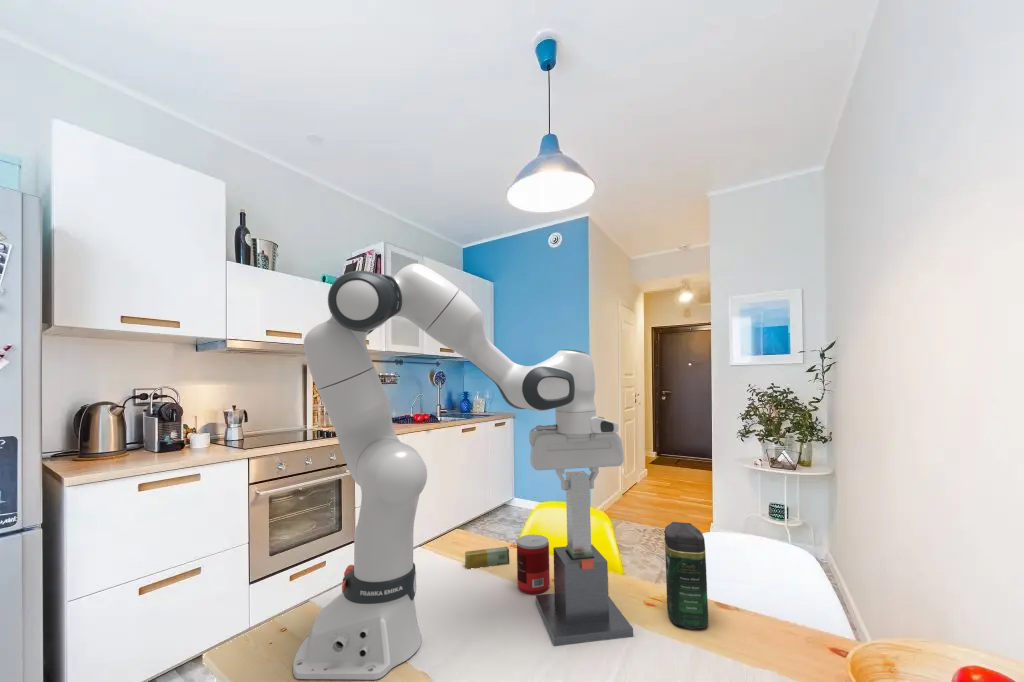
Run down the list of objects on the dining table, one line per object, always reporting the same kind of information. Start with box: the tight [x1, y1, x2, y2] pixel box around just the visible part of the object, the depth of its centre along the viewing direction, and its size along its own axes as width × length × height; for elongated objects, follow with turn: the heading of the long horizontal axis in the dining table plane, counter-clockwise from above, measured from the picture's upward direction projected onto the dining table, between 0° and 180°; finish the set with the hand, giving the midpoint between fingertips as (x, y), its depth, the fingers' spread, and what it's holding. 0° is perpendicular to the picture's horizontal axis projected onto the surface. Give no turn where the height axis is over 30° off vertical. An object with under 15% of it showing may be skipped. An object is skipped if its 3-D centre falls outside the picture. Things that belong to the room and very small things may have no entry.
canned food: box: [516, 534, 551, 595], centre depth 104 cm, size 8×8×11 cm
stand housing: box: [535, 543, 634, 647], centre depth 91 cm, size 16×16×14 cm
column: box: [565, 470, 592, 560], centre depth 92 cm, size 4×4×22 cm
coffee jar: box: [664, 521, 709, 630], centre depth 90 cm, size 10×8×19 cm
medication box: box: [464, 546, 510, 570], centre depth 116 cm, size 12×3×4 cm, turn 104°
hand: (577, 488), depth 92 cm, fingers closed on column, 4 cm apart
